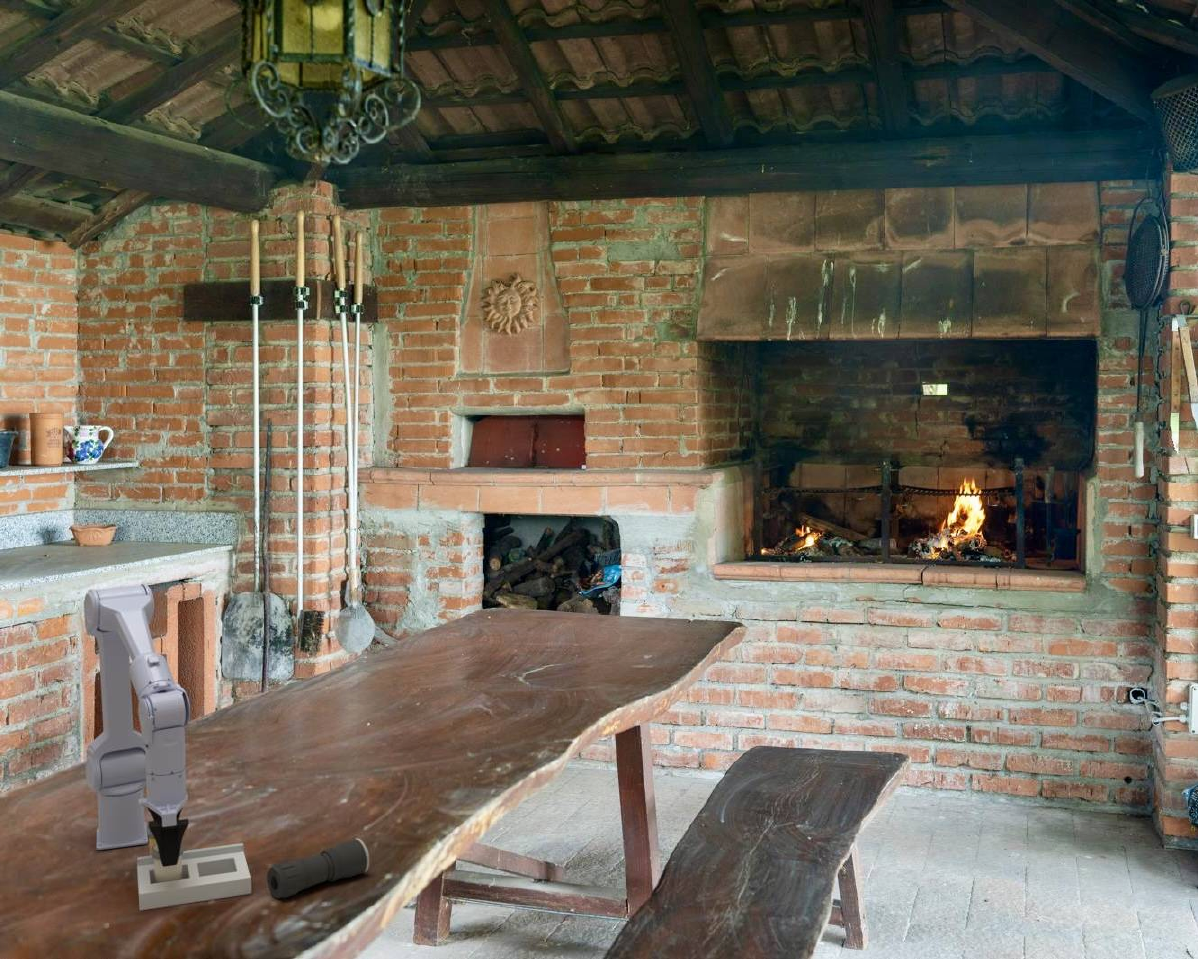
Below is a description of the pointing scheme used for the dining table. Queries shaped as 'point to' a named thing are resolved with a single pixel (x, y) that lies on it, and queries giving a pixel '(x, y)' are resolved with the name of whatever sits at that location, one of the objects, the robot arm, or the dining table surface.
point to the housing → (196, 877)
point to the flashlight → (318, 868)
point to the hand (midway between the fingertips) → (168, 855)
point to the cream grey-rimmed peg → (169, 871)
